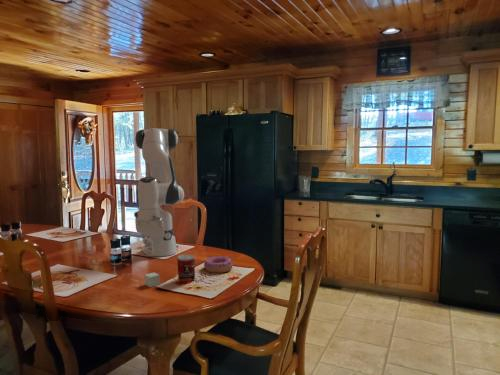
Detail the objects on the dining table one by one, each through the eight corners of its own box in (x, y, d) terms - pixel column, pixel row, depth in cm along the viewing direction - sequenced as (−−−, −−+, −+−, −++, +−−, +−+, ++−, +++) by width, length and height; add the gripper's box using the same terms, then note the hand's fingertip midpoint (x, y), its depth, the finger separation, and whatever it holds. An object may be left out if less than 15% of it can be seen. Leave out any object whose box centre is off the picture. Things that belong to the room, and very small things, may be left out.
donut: (219, 276, 177) (219, 265, 177) (198, 270, 186) (197, 260, 185) (238, 268, 188) (238, 258, 188) (217, 262, 197) (217, 253, 196)
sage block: (145, 284, 168) (144, 274, 167) (154, 282, 171) (154, 272, 170) (150, 287, 164) (149, 277, 164) (159, 284, 167) (159, 274, 167)
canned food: (178, 284, 167) (178, 260, 166) (177, 277, 175) (176, 255, 174) (196, 282, 169) (195, 258, 168) (193, 276, 177) (193, 253, 176)
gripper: (167, 216, 158) (169, 248, 160) (145, 210, 173) (146, 240, 175) (154, 218, 154) (155, 251, 155) (132, 212, 169) (133, 242, 170)
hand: (150, 245), depth 165 cm, fingers open, 8 cm apart
